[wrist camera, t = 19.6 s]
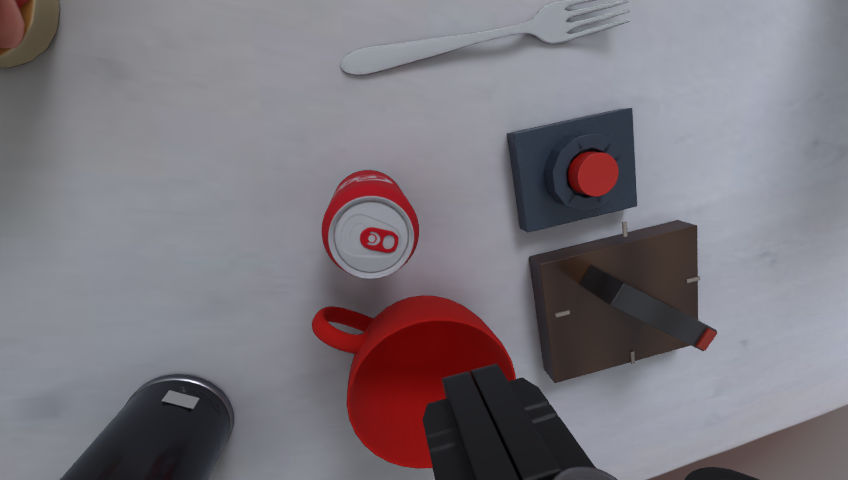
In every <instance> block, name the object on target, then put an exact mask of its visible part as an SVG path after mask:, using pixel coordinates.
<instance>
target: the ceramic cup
mask: <svg viewBox="0 0 848 480" xmlns="http://www.w3.org/2000/svg"><path fill="white" fill-rule="evenodd" d="M329 322H336V323H340V324H344V325H347V326H350V327H353V328H356V329H359V330H361V331H364V333H363V334H360V335H353V334H348V333H345V332H342V331H340V330H338V329H336V328H335V327H333V326H332V325H331V324H329ZM312 329H313V332H314V333H315V335H316V336H317V337H318V338H319V339H320V340H321V341H323V342H324V343H326V344H327V345H329V346H331V347H333V348H336V349H338V350H341V351H345V352H349V353H354V354H355V355H354V358H353V362H352V365H351V370H350V375H349V381H348V391H347V408H348V414H349V420H350V422H351V425H352V427H353V429H354V431H355V434H356V435H357V436H358V438H359V439H360V440H361V442H362V443H363V444H364V445H365V446H366V447H367V448H368V449H369V450H370V451H372V452H373V453H374V454H375V455H377V456H379V457H380V458H382V459H384V460H386V461H388V462H390V463H393V464H396V465H400V466H403V467H411V468H433V466H432V462H431V457H430V453H429V448H428V444H427V439H426V434H425V430H424V425H423V421H422V419H423V416H424V413H425V409H426V406H427V404H428V403H431V402H435V401H439V400H442V399H446V398H445V393H444V388H443V384H442V378H444V377H448V376H452V375H456V374H459V373H463V372H467V371H469V373H470V370H474V369H478V368H481V367H485V366H489V365H493V364H498V365H499V367H500V369H501V370H502V372H503V373H504V375H505V377H506V378H507V380H508V381H511V380H515V379H516V377H515V371H514V368H513V364H512V361H511V358H510V357H509V355H508V353H507V351H506V349H505V347H504V346H503V344H502V343H501V341H500V340H499V339H498V338H497V337H496V335H495V334H494V333H493V332H492V331H491V330H490V329H489V327H488V326H487V325H486V324H485V323H484V322H483V321H482V320H481V319H480V318H479V317H478V316H477V315H475V314H474V313H473V312H471V311H470V310H468V309H467V308H466V307H464V306H463V305H461V304H458V303H456V302H454V301H452V300H449V299H446V298H441V297H437V296H416V297H409V298H406V299H404V300H401V301H398V302H396V303H394V304H392V305H391V306H389V307H387V308H386V309H385V310H383V311H382V312H381V313H380V314H379V315H377V316H376V317H375V318H374V319H373V318H370V317H368V316H365V315H363V314H360V313H357V312H354V311H351V310H348V309H344V308H340V307H326V308H323V309H321V310H320V311H319V312H317V314H316V315H315V317H314V319H313V321H312Z"/></svg>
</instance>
